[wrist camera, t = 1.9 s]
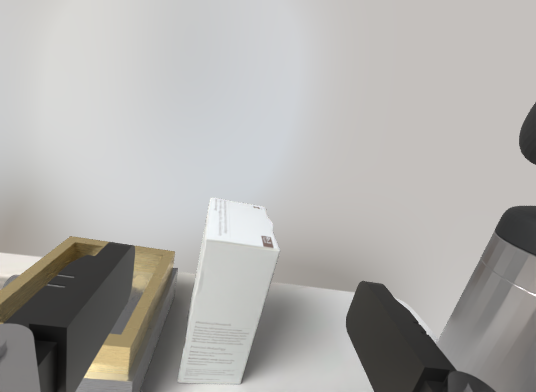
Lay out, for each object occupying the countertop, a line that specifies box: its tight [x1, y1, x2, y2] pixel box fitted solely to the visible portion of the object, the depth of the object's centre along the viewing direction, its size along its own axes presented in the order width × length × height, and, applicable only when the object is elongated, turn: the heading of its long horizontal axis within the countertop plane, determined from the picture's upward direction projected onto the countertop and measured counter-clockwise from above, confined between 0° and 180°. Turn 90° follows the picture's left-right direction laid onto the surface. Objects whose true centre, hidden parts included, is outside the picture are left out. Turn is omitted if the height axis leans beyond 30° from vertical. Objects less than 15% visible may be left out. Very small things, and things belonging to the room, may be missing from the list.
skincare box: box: [177, 198, 280, 384], centre depth 26 cm, size 8×6×15 cm
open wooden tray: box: [0, 236, 178, 392], centre depth 25 cm, size 15×14×6 cm
